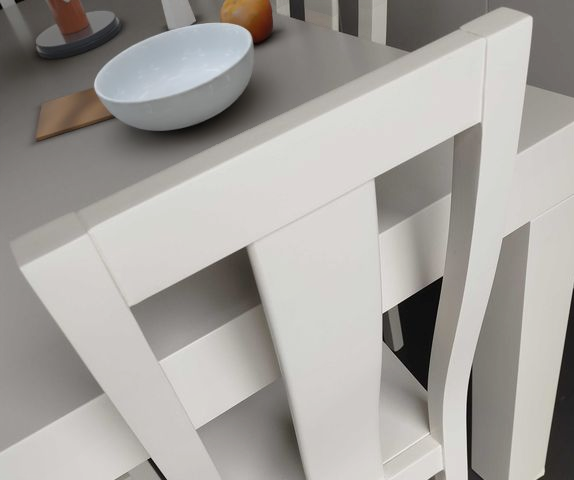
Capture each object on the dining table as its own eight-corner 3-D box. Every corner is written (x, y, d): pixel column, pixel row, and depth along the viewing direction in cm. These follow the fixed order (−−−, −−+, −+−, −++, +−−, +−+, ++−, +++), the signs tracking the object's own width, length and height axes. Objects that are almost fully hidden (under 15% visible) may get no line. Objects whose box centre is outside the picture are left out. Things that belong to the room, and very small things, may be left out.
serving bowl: (91, 124, 83) (68, 75, 78) (213, 61, 89) (198, 12, 84) (159, 171, 70) (137, 116, 65) (296, 93, 76) (285, 38, 71)
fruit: (294, 15, 91) (265, -25, 84) (270, 61, 91) (240, 26, 84) (258, 11, 95) (228, -27, 89) (235, 55, 96) (204, 21, 89)
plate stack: (35, 67, 104) (29, 56, 103) (42, 37, 115) (37, 26, 114) (121, 40, 104) (117, 28, 103) (120, 13, 115) (116, 2, 114)
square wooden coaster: (36, 141, 83) (35, 138, 83) (43, 106, 91) (41, 103, 91) (118, 116, 83) (116, 112, 83) (117, 83, 91) (116, 80, 91)
